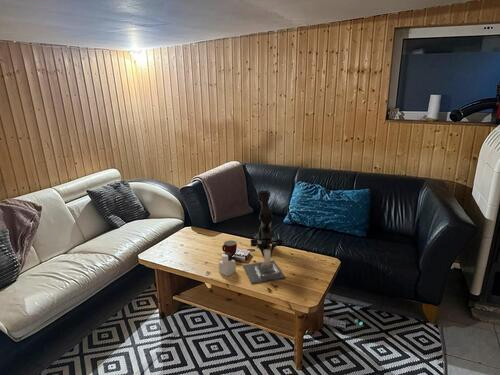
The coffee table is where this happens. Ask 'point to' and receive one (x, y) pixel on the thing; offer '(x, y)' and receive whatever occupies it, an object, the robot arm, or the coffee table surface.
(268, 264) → the beige flared base peg
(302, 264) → the coffee table surface
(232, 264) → the medicine bottle
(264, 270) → the keeper board
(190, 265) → the coffee table surface
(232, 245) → the mug
